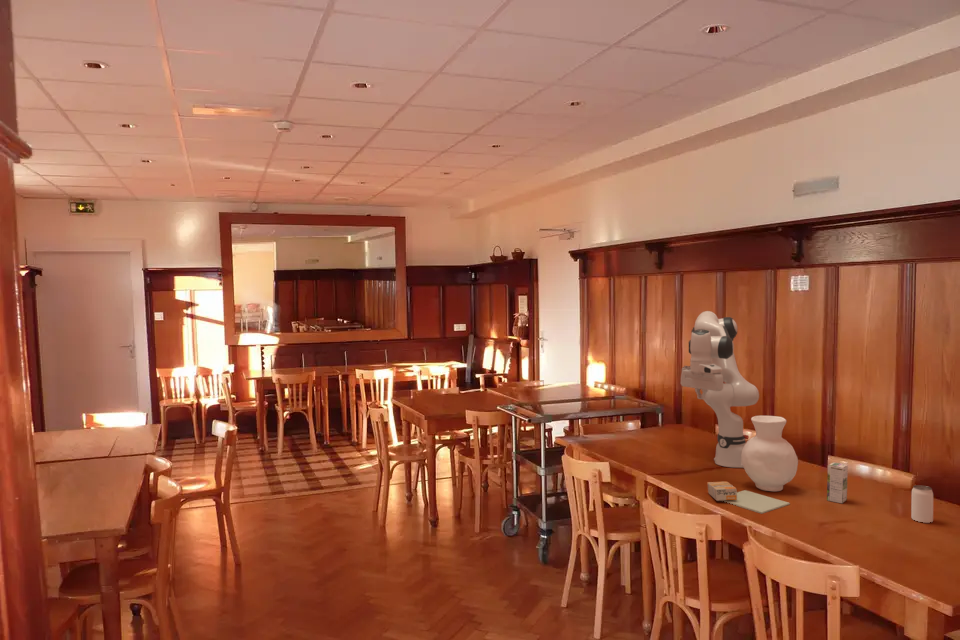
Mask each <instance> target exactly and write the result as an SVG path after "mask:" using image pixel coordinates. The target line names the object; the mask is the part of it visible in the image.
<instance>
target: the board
mask: <svg viewBox="0 0 960 640" xmlns="http://www.w3.org/2000/svg"><path fill="white" fill-rule="evenodd" d="M726 502H727V504H729V503H730V505H732V504H733V506H735V505H736V507H738V508H739V507H740V508H742V509H746V510H749V511H751V512H755V513H758V514H766V513H768V512H771V511H774V510H777V509H780V508H783V507H786V506H790V504H791V503H790V502H788V501H784V500H780V499H778V498H774V497H772V496H771V497H770V496H766V495H764V494H760V493H757V492H753V491H750V490H747V489H745V490H741V491H737V500H724V502H723V503H726Z"/></svg>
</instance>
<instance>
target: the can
mask: <svg viewBox="0 0 960 640" xmlns="http://www.w3.org/2000/svg"><path fill="white" fill-rule="evenodd" d="M912 487H913V488H912V489H911V498H910V499H911V504H910V505H911V507H910V508H911V510H910V511H911V512H910V513H911V516H910V517H911V520H913V521H914V520H915V521H914V522H916V521H918V522H917V523H920V522H923V523H922V524H931V523H933V521H934V492H933V488H932V487H930V486H926V485H922V484H921V485H919V484H917V485H913V486H912ZM930 522H931V523H930Z"/></svg>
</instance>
